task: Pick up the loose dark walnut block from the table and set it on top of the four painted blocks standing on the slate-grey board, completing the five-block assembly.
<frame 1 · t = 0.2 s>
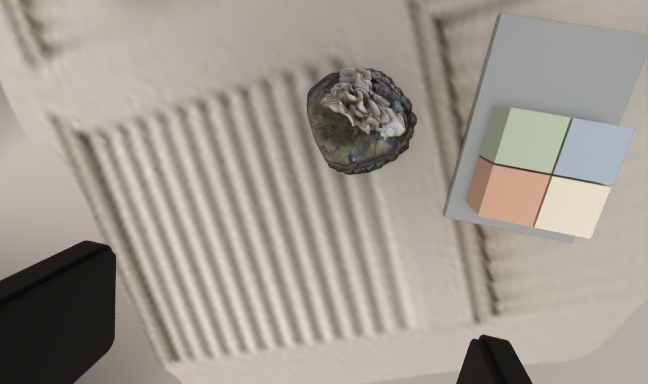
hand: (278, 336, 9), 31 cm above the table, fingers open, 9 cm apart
cream block: (546, 194, 36), point 1 cm above the table, touching assembly board
grey oval shell: (358, 121, 38), on the table
sage block: (511, 135, 35), point 1 cm above the table, touching assembly board
assembly board: (534, 134, 35), on the table
terracotta block: (495, 184, 36), point 1 cm above the table, touching assembly board
blue block: (564, 145, 34), point 1 cm above the table, touching assembly board
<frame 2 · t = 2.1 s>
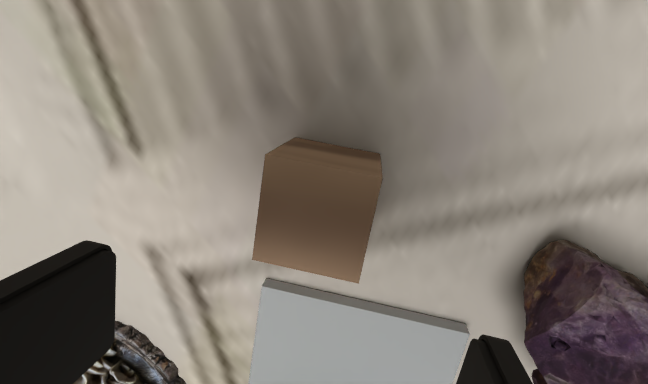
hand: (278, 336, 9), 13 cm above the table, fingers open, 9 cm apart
rock: (592, 313, 21), on the table
grey oval shell: (119, 373, 28), on the table
walnut block: (329, 186, 21), on the table
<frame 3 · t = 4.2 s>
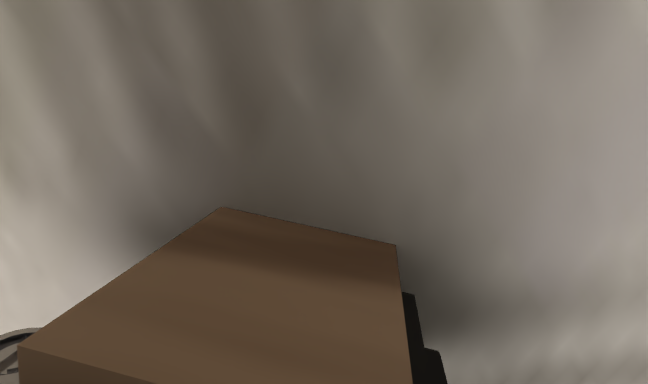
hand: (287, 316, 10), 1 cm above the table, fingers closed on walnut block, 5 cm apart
walnut block: (292, 303, 11), on the table, touching gripper
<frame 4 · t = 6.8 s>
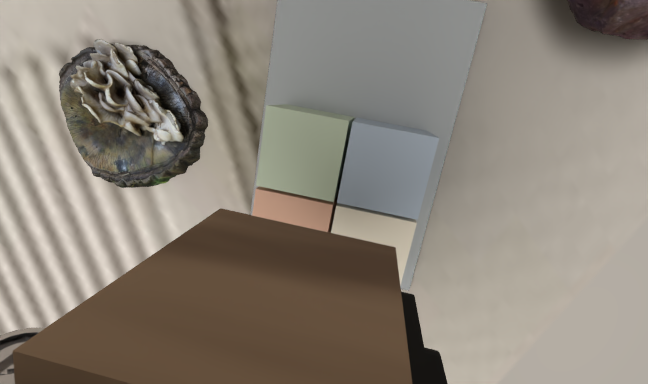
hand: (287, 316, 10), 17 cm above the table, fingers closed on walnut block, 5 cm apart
cream block: (369, 224, 26), point 1 cm above the table, touching assembly board
grey oval shell: (139, 117, 28), on the table
sage block: (314, 144, 25), point 1 cm above the table, touching assembly board
walnut block: (292, 305, 11), point 17 cm above the table, touching gripper
assembly board: (351, 142, 26), on the table
terracotta block: (303, 210, 27), point 1 cm above the table, touching assembly board
blue block: (384, 158, 25), point 1 cm above the table, touching assembly board
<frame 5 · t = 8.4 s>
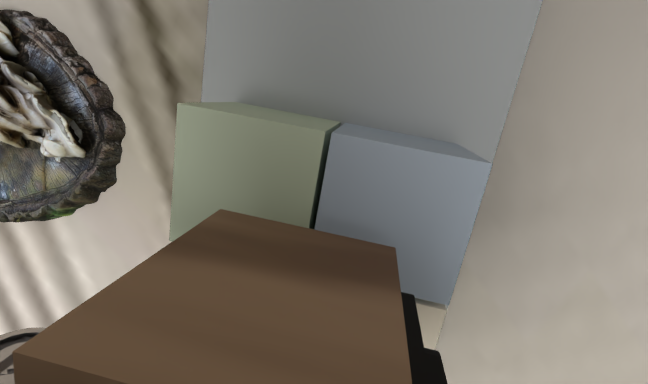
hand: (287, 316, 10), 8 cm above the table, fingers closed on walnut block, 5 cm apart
cream block: (365, 285, 17), point 1 cm above the table, touching assembly board
grey oval shell: (30, 119, 19), on the table
sage block: (279, 164, 16), point 1 cm above the table, touching assembly board
walnut block: (292, 305, 11), point 8 cm above the table, touching gripper
assembly board: (337, 161, 17), on the table
blue block: (388, 186, 16), point 1 cm above the table, touching assembly board
when the fingers open (7 cm above the table, at t = 9.5 s): walnut block stays where it is, resting on blue block, cream block, sage block, terracotta block.
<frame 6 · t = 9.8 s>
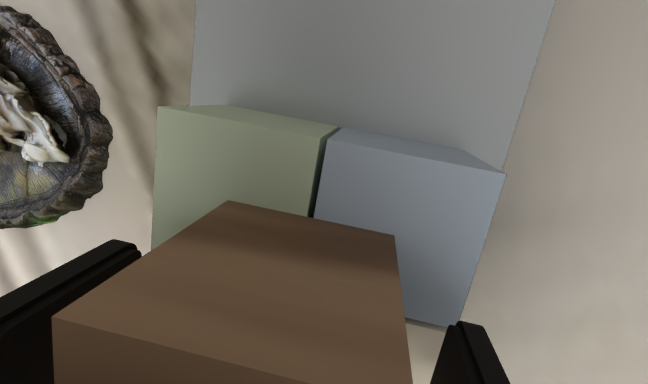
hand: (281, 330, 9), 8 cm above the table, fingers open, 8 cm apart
cream block: (364, 299, 16), point 1 cm above the table, touching assembly board, walnut block
grey oval shell: (13, 121, 18), on the table
sage block: (273, 171, 15), point 1 cm above the table, touching assembly board, walnut block
walnut block: (296, 292, 11), point 6 cm above the table, touching blue block, cream block, sage block, terracotta block
assembly board: (335, 167, 16), on the table
blue block: (389, 195, 15), point 1 cm above the table, touching assembly board, walnut block
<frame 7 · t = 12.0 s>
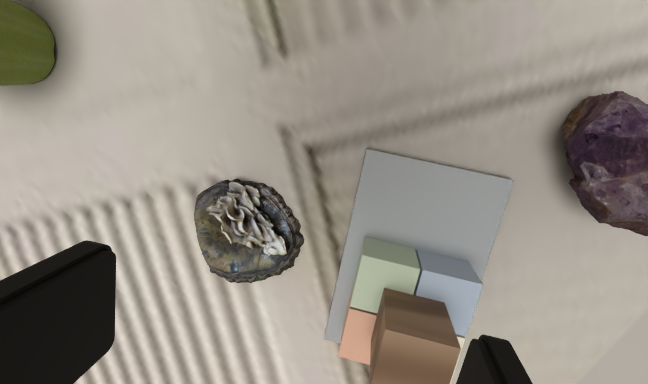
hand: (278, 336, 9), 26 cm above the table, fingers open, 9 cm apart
rock: (608, 162, 31), on the table
grey oval shell: (248, 229, 37), on the table
sage block: (383, 265, 34), point 1 cm above the table, touching assembly board, walnut block
plant pot: (28, 46, 36), on the table
walnut block: (406, 321, 30), point 6 cm above the table, touching blue block, cream block, sage block, terracotta block
assembly board: (409, 262, 35), on the table
terracotta block: (371, 310, 35), point 1 cm above the table, touching assembly board, walnut block
blue block: (435, 277, 34), point 1 cm above the table, touching assembly board, walnut block
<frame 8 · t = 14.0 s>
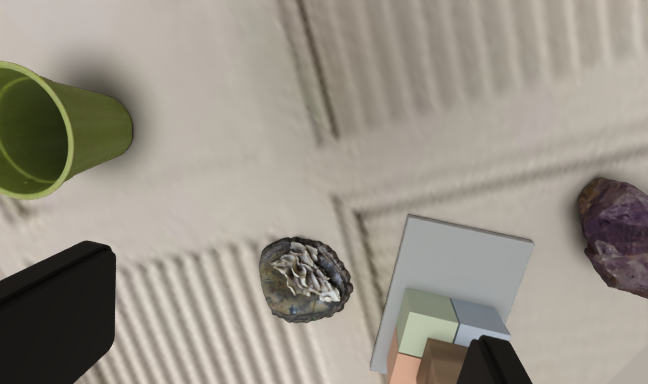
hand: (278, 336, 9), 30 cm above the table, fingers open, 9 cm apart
rock: (616, 226, 36), on the table
grey oval shell: (304, 277, 43), on the table
sage block: (422, 310, 40), point 1 cm above the table, touching assembly board, walnut block
plant pot: (107, 125, 42), on the table
walnut block: (446, 363, 36), point 6 cm above the table, touching blue block, cream block, sage block, terracotta block
assembly board: (443, 307, 41), on the table
terracotta block: (411, 347, 42), point 1 cm above the table, touching assembly board, walnut block
blue block: (466, 321, 40), point 1 cm above the table, touching assembly board, walnut block
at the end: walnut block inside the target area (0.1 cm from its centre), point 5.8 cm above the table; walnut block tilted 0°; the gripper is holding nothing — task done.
